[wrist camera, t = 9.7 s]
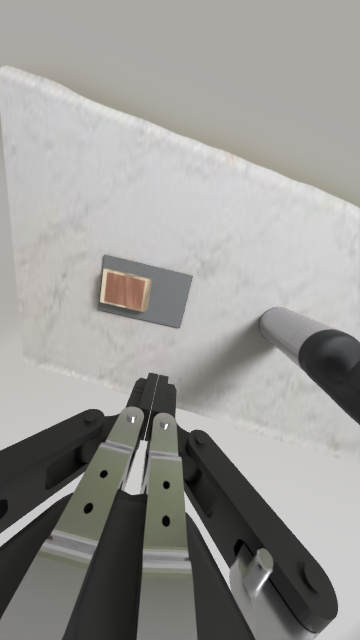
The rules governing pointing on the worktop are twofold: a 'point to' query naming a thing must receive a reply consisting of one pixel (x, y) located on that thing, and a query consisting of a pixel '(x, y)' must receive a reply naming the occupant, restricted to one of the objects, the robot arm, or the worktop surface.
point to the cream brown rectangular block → (125, 290)
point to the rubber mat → (153, 292)
